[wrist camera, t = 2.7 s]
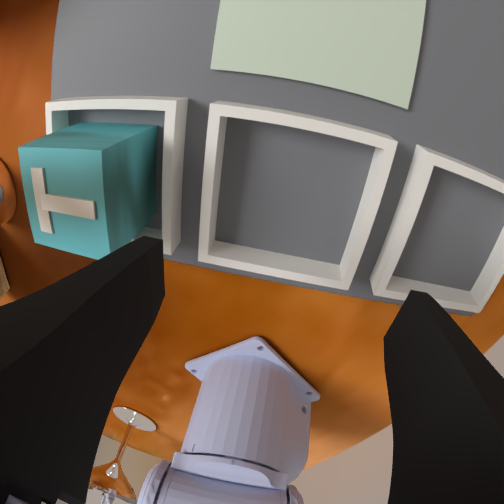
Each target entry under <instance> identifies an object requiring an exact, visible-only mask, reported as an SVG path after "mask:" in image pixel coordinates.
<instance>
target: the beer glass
mask: <svg viewBox="0 0 504 504" xmlns="http://www.w3.org/2000/svg"><path fill="white" fill-rule="evenodd" d="M15 210H16V192H15V187H14V183H13V180H12V177H11V175H10V173H9V171H8V169H7V167H6V166H5V164H4V163H3V162H2V161H1V160H0V225H1V224H3V223H5V222H7V221H9V220H10V219H11V218H12V217H13V215H14V213H15Z"/></svg>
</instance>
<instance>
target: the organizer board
mask: <svg viewBox="0 0 504 504" xmlns="http://www.w3.org/2000/svg"><path fill="white" fill-rule="evenodd" d="M45 106H46V135H48V134H51V133H53V132H56V131H58V130H61V129H64V128H66V127H69V126H72V125H75V124H78V123H80V122H101V123H131V124H149V125H158V132H157V158H156V214H155V215H154V216H153V217H152V218H151V220H150V221H149V222H148V223H147V224H146V225H145V226H144V227H143V228H142V229H141V230H140V232H139V233H138V234H137V235H136V236H135V237H134V238H133V239H132V241H134V240H136V239H138V238H140V237H142V236H148V237H153V238H157V239H162V240H163V257H164V259H166V260H171V261H175V262H180V263H185V264H189V265H194V266H199V267H203V268H208V269H213V270H218V271H223V272H227V273H232V274H237V275H242V276H247V277H252V278H257V279H262V280H267V281H272V282H277V283H282V284H287V285H293V286H298V287H303V288H308V289H314V290H319V291H324V292H330V293H335V294H341V295H346V296H352V297H357V298H363V299H369V300H374V301H380V302H386V303H392V304H397V305H403V303H404V302H405V300H406V298H407V296H408V294H409V292H410V290H415V291H421V292H426V293H428V294H429V295H431V296H432V297H433V298H434V299H435V300H436V301H437V302H438V303H439V304H440V305H441V306H442V308H443V309H444V310H445V311H446V312H447V313H453V314H459V315H466V316H472V314H473V313H474V312H475V313H480V312H481V310H482V309H483V307H484V306H485V304H486V303H487V301H488V299H489V298H490V296H491V295H492V293H493V291H494V290H495V288H496V286H497V284H498V283H499V281H500V279H501V277H502V276H503V274H504V0H60V1H59V7H58V13H57V20H56V28H55V37H54V47H53V60H52V79H51V101H50V102H46V103H45ZM132 241H131V242H132Z"/></svg>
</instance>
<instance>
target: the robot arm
mask: <svg viewBox="0 0 504 504" xmlns="http://www.w3.org/2000/svg"><path fill="white" fill-rule="evenodd" d="M164 296H165V286H164V257H163V240H162V239H157V238H153V237H148V236H142V237H140V238H138V239H136V240H134V241H132V242H130V243H128V244H126V245H124V246H122V247H120V248H119V249H117V250H115V251H113V252H111V253H110V254H108V255H106V256H104V257H102V258H101V259H99V260H97V261H95V262H93V263H92V264H90V265H88V266H86V267H84V268H82V269H81V270H79V271H77V272H75V273H73V274H71V275H69V276H67V277H65V278H63V279H61V280H60V281H58V282H56V283H54V284H52V285H50V286H48V287H46V288H44V289H41V290H39V291H37V292H35V293H33V294H30V295H28V296H26V297H23V298H21V299H19V300H16V301H14V302H11V303H8V304H6V305H3V306H0V504H41V502H42V501H43V502H45V503H46V504H55V503H56V501H57V498H58V499H60V500H62V501H64V502H67V503H68V504H86V499H87V493H88V487H89V482H90V477H91V472H92V468H93V464H94V460H95V456H96V452H97V449H98V445H99V442H100V438H101V435H102V432H103V429H104V426H105V423H106V420H107V417H108V414H109V412H110V409H111V406H112V403H113V401H114V398H115V395H116V393H117V391H118V389H119V386H120V384H121V382H122V380H123V378H124V376H125V375H126V373H127V371H128V369H129V367H130V365H131V363H132V362H133V360H134V358H135V356H136V354H137V353H138V351H139V349H140V347H141V345H142V343H143V342H144V340H145V338H146V336H147V334H148V333H149V331H150V329H151V327H152V325H153V323H154V321H155V319H156V316H157V314H158V311H159V309H160V306H161V304H162V301H163V299H164ZM260 346H262V347H260ZM384 362H385V373H386V380H387V387H388V395H389V402H390V410H391V418H392V427H393V465H392V477H391V486H390V494H389V499H388V504H504V378H503V377H502V376H501V375H500V374H499V373H498V372H497V370H495V368H494V367H493V366H492V365H491V364H490V362H489V361H488V360H487V359H486V358H485V357H484V355H483V354H482V353H481V352H480V351H479V350H478V348H477V347H476V346H475V345H474V344H473V342H472V341H471V340H470V339H469V338H468V336H467V335H466V334H465V333H464V332H463V331H462V329H461V328H460V327H459V326H458V325H457V323H456V322H455V321H454V320H453V319H452V318H451V316H450V315H449V314H448V313H447V312H446V311H445V310H444V309H443V308H442V306H441V305H440V304H439V303H438V302H437V301H436V300H435V299H434V298H433V297H432V296H431V295H429V294H428V293H426V292H421V291H415V290H410V292H409V294H408V296H407V298H406V300H405V302H404V303H403V305H402V307H401V309H400V311H399V312H398V314H397V316H396V318H395V319H394V321H393V323H392V325H391V326H390V328H389V330H388V331H387V333H386V335H385V336H384ZM185 368H186V369H187V370H188V371H189V372H191V373H192V374H193V375H194V376H196V377H197V378H198V379H199V380H201V381H202V384H201V387H200V390H199V393H198V397H197V400H196V403H195V406H194V409H193V413H192V416H191V419H190V422H189V426H188V429H187V432H186V435H185V438H184V442H183V445H182V448H181V451H180V452H175V454H174V457H173V460H172V462H171V461H167V460H163V461H161V462H160V463H159V464H156V465H155V466H153V467H152V469H151V470H150V471H149V473H148V475H147V477H146V479H145V481H144V483H143V486H142V489H141V491H140V495H139V498H138V502H137V504H304V503H303V498H302V496H301V494H300V493H299V492H298V490H297V489H296V487H295V486H293V485H287V484H289V483H290V482H292V481H293V480H295V479H296V478H297V477H298V476H299V474H300V473H301V472H302V470H303V469H304V467H305V464H306V462H307V458H308V449H309V434H310V416H311V402H314V401H317V400H319V399H320V394H319V393H318V392H317V391H316V390H315V389H314V388H313V387H312V386H311V385H310V384H309V383H308V382H307V381H306V380H305V379H304V378H302V377H301V376H300V375H299V374H298V373H297V372H296V371H295V370H294V369H293V368H292V367H291V366H290V365H289V364H288V363H287V362H286V361H285V360H284V359H283V358H282V357H281V356H280V355H279V354H278V353H277V352H276V351H275V350H274V349H273V348H272V347H271V346H270V345H269V344H268V343H267V342H266V341H265V340H264V339H263V338H261V337H258V336H255V337H252V338H249V339H247V340H244V341H242V342H239V343H237V344H234V345H231V346H229V347H226V348H223V349H221V350H218V351H215V352H212V353H210V354H207V355H204V356H201V357H199V358H196V359H193V360H190V361H187V362H186V364H185Z"/></svg>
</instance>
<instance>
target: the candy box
mask: <svg viewBox="0 0 504 504" xmlns="http://www.w3.org/2000/svg"><path fill="white" fill-rule="evenodd" d="M9 289H10V286H9V283H8V281H7V277H6V274H5V271H4V267H3V263H2V260H1V257H0V299H1V298H2V296H3V295H4V294H5V293H6V292H7V291H8V290H9Z"/></svg>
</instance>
